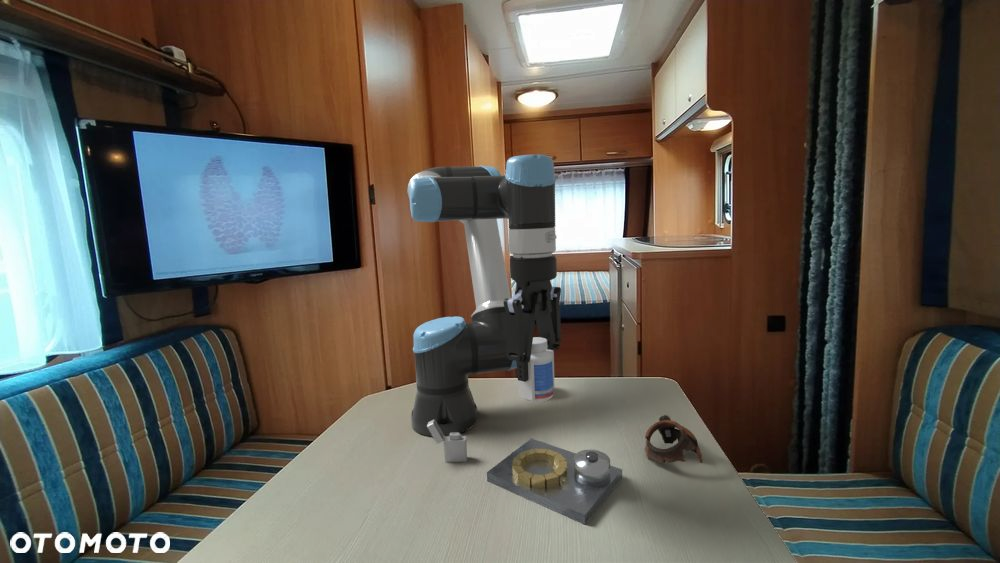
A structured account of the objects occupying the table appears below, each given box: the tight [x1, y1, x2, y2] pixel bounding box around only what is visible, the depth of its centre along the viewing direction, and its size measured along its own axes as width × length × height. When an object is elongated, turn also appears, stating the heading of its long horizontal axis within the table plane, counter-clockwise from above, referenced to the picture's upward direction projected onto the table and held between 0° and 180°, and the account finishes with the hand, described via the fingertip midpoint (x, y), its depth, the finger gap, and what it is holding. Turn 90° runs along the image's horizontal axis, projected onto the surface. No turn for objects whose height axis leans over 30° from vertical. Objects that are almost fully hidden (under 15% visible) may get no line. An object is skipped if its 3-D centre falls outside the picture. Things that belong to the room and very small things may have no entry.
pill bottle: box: [523, 336, 555, 403], centre depth 72 cm, size 6×5×10 cm
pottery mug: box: [644, 414, 703, 464], centre depth 81 cm, size 12×10×8 cm
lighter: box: [427, 419, 468, 463], centre depth 83 cm, size 7×2×8 cm, turn 88°
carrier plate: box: [486, 437, 623, 525], centre depth 75 cm, size 19×14×5 cm
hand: (537, 391), depth 73 cm, fingers closed on pill bottle, 5 cm apart
